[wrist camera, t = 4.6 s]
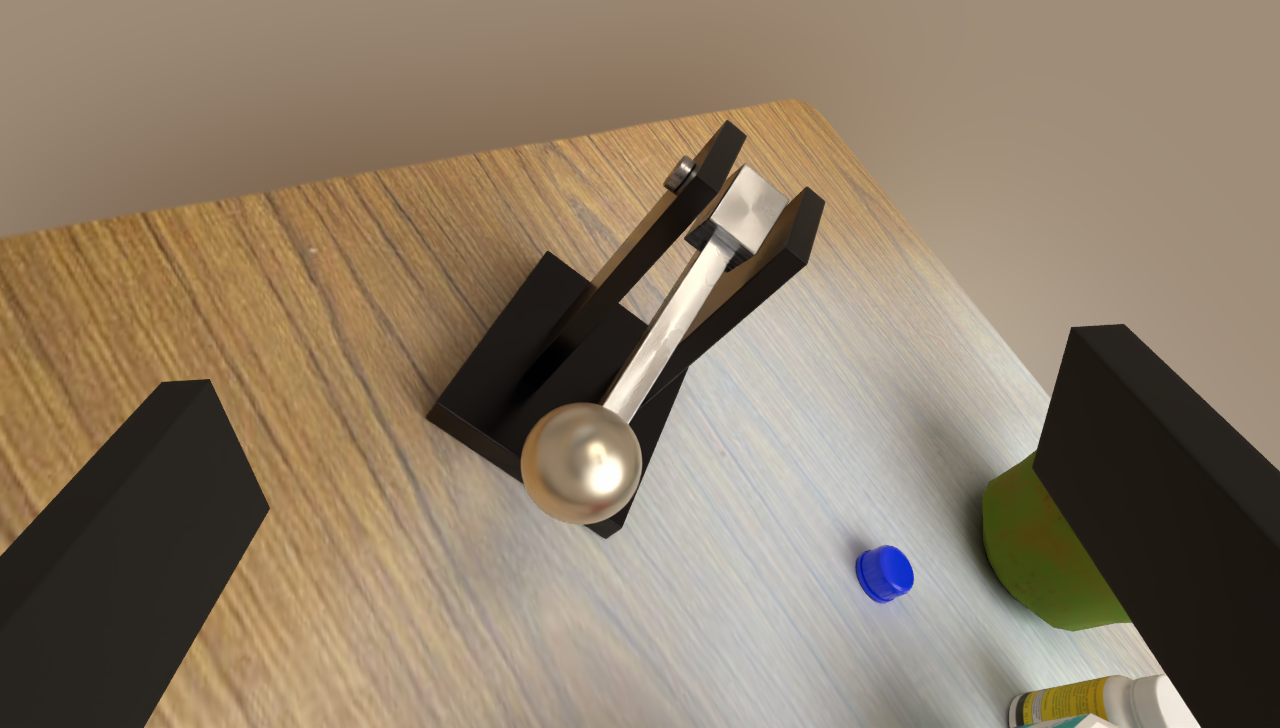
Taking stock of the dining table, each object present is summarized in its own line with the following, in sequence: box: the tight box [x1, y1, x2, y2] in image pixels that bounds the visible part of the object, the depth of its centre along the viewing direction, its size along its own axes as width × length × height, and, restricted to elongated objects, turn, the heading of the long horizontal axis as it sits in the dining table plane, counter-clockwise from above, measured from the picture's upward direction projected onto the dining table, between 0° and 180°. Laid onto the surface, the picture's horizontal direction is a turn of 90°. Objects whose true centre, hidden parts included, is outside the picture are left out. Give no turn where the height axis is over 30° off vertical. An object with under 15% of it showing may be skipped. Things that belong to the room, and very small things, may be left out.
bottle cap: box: [856, 545, 914, 603], centre depth 43 cm, size 3×3×2 cm
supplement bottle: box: [1009, 674, 1201, 728], centre depth 41 cm, size 5×5×8 cm
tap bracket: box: [426, 120, 825, 539], centre depth 33 cm, size 12×10×16 cm
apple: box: [982, 450, 1132, 631], centre depth 48 cm, size 12×12×11 cm
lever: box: [521, 164, 789, 525], centre depth 27 cm, size 14×4×4 cm, turn 158°
